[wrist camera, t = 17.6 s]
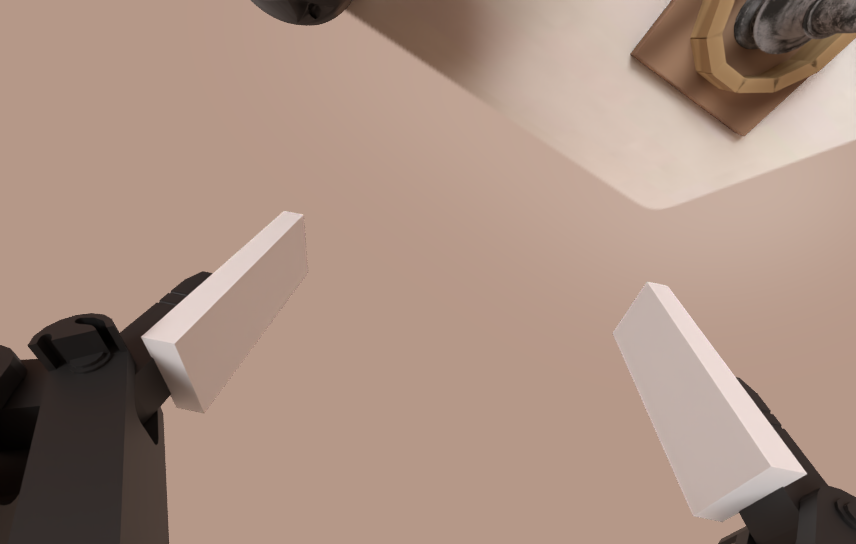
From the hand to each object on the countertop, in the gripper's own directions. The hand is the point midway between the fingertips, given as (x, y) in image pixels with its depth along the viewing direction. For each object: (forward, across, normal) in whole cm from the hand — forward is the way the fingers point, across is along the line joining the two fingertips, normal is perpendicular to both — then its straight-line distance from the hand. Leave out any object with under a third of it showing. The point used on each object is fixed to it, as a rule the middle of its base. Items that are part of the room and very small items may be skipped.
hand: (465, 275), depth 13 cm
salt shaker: (+33, +25, +13) cm, 44 cm away
